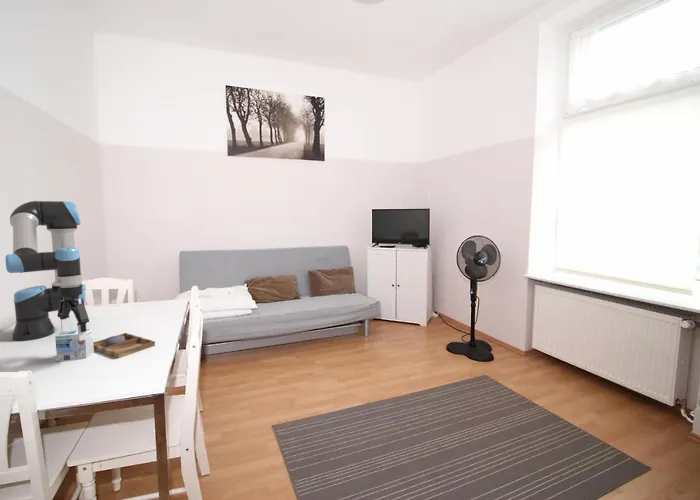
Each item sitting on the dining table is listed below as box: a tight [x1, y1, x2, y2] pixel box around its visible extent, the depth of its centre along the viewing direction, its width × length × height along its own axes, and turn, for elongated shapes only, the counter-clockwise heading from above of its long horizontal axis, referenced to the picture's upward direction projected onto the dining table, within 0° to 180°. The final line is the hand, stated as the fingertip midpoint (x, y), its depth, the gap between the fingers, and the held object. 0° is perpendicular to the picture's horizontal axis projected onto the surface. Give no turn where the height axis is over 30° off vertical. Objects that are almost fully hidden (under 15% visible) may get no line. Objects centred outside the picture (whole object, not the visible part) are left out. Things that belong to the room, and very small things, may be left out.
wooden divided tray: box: [93, 332, 156, 359], centre depth 153 cm, size 22×16×2 cm
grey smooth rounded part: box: [105, 334, 125, 347], centre depth 156 cm, size 7×7×3 cm
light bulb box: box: [54, 328, 95, 362], centre depth 143 cm, size 11×7×11 cm, turn 105°
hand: (74, 336), depth 142 cm, fingers open, 13 cm apart
